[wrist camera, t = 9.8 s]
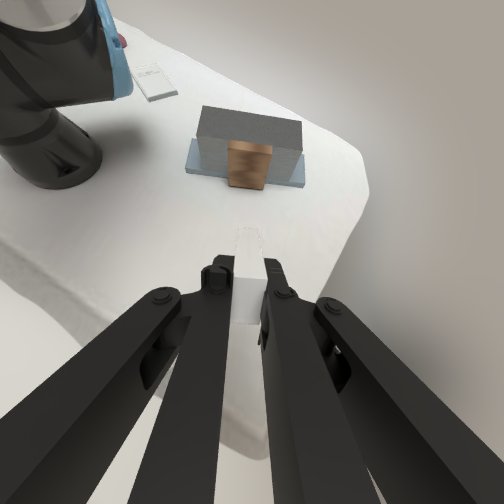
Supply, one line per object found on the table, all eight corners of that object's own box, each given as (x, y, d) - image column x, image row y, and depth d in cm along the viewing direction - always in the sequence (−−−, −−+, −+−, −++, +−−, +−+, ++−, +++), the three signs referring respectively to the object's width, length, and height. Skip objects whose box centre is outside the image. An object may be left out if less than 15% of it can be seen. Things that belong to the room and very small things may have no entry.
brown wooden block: (228, 185, 41) (227, 147, 32) (233, 147, 45) (233, 104, 35) (262, 189, 42) (272, 154, 32) (264, 152, 45) (273, 110, 36)
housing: (186, 172, 41) (173, 131, 32) (193, 143, 44) (182, 98, 35) (302, 187, 44) (322, 153, 34) (301, 159, 47) (319, 120, 37)
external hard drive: (150, 104, 48) (131, 76, 50) (178, 96, 50) (159, 69, 52) (147, 97, 46) (128, 68, 49) (177, 89, 48) (157, 62, 51)
